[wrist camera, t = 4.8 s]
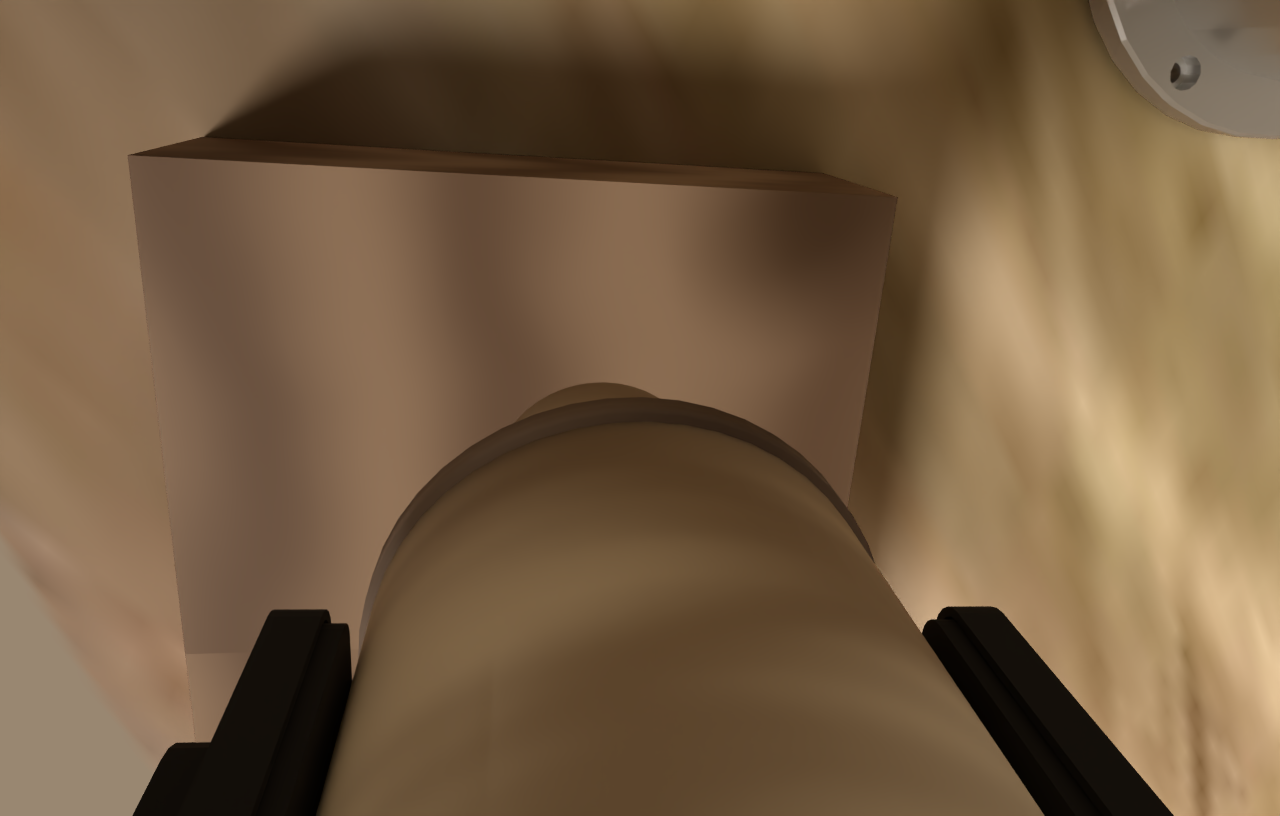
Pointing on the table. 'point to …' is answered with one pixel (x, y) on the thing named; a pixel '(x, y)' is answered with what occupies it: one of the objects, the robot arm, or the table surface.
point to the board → (457, 338)
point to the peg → (647, 638)
